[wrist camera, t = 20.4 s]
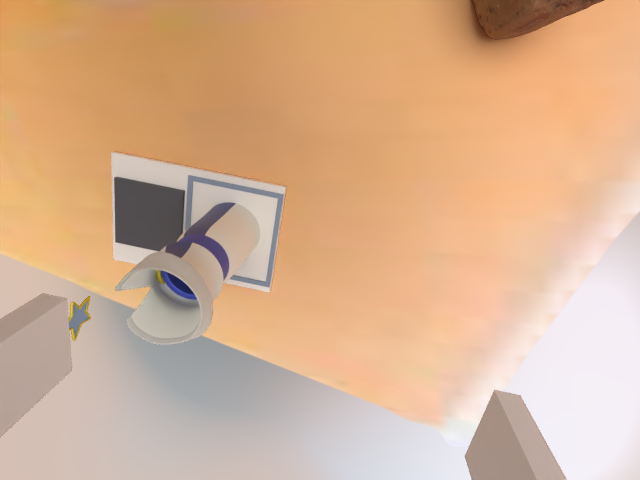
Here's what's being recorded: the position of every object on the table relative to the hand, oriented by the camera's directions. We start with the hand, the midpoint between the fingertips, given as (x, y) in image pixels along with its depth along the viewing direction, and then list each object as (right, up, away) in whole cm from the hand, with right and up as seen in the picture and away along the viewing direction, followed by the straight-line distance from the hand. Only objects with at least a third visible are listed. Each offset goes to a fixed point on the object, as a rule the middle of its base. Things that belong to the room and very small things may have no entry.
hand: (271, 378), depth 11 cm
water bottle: (-10, +5, +38) cm, 39 cm away
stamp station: (-15, +6, +38) cm, 42 cm away
